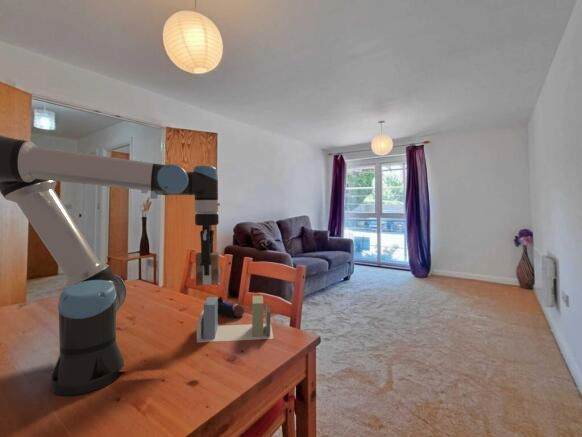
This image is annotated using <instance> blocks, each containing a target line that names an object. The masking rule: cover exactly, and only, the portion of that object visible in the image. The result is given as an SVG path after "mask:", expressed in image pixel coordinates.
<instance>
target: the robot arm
mask: <svg viewBox="0 0 582 437" xmlns="http://www.w3.org/2000/svg"><path fill="white" fill-rule="evenodd" d="M58 182H61V183H62V182H63V183H69V184H70V183H71V184H72V183H73V184H82V185H91V186H101V187H110V188H117V189H118V188H119V189H131V190H138V191H139V190H140V191H147V192H149V191H150V192H153V193H154V194H155V195H157V196H158V195H159V196H166V197H167V196H194V212H195V215H194V224H195V226H202V228H201V229H202V230H201V231H200V232H199V234H200V235H199V236H200V246H201V247H200V253H201V261H202V262H201V264H200V266H202V268H203V285H202V286H213V285H212V275H211V265H210V264H211V253H214V235H215V230H213V228H212V227H213V226H217V225H219V222H220V221H219V218H220V217H219V214H218V212H219V206H221V204H220V202H219V179H218V170H217V168H216V166H213V165H195V166H194V167H193V171H186V170H185V169H184V168H183V167H181V165H178V164H173V163H170V164H160V163H154V162H147V161H142V160H132V159H127V158H126V159H124V158H119V157H111V156H105V155H98V154H93V153H92V154H91V153H90V154H89V153H84V152H79V151H78V152H76V151H70V150H62V149H55V148H49V147H41V146H37V145H36V144H35V143H34V142H33V141H29V140H24V139H20V138H19V139H18V138H14V137H8V136H5V135H1V134H0V194H1V195H2V196H3V198H4V199H5V200H7V201H10V202H15V203H16V204H17V205H18V207H19V209H20V210H21V212H22V213H23V215H24V216H25V218H26V219H27V221H28V222H29V223H30V225H31V226H32V228H33V230H34V231H35V233H36V234H37V236H38V237H39V238H40V240H41V241H42V243H43V244H44V246H45V247H46V249H47V250H48V252H49V254H50V255H51V256H52V258H53V260H54V261H55V262H56V264H57V266H58V267H59V269H60V270H61V272H62V273H63V274H64V276H65V277H66V283H65V286H64V289H63V290H62V291H61V293H60V294H59V296H58V297H59V299H58V300H59V301H58V303H57V309H58V324H59V325H58V329H59V355H58V358H57V360H56V363H55V365H54V368H53V370H52V373H51V377H50V391H51V392H52V393H53V394H55V395H58V396H63V397H65V396H66V397H68V396H79V395H83V394H88V393H92V392H94V391H97V390H100V389H102V388H104V387H106V386H107V385H111V383H113V382H114V381H115V380H117V379H119V378H120V376H121V375H122V374H123V373H124V371H121V370H122V369H123V368H124V366H125V362H124V360H125V359H124V357H123V354H122V352H121V350H120V348H119V345H118V342H117V314H118V312H119V309H120V308H121V307H122V305H123V304H124V302H125V299H126V297H127V296H126V295H127V285H126V284H125V281H124V280H123V279H122V278H121V277H120V276H119V275H117V274H115V272H114V271H113V270H112V268H111V266H110V265H109V264H107V263H102V262H100V260H99V259H98V257H97V256H96V254H95V252H94V251H93V249H92V248H91V246H90V245H89V243H88V242H87V239H86V238H85V237H84V235H83V233H82V232H81V230H80V228H79V227H78V226H77V224H76V223H75V221H74V219H73V217H72V216H71V215H70V213H69V211H68V210H67V208H66V207H65V206H64V204H63V202H62V200H61V199H60V197H59V196H58V194H57V192H56V191H55V189H56V186H57V184H58Z"/></svg>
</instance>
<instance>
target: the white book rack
mask: <svg viewBox="0 0 582 437" xmlns="http://www.w3.org/2000/svg"><path fill="white" fill-rule="evenodd" d="M199 315H200V316H199V318H198V320H197V322H196V343H211V342H215V343H216V342H233V341H234V342H235V341H251V340H254V341H255V340H272V339H274V338H275V337H274V333H273V329H272V328H273V327H272V323H270V336H267V332H266V323H263V336H258V337H252V323H249V324H229V325H226V324H225V325H218V328H217V332H216V336H215V339H204V309H202V311H201V313H200V314H199Z"/></svg>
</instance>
